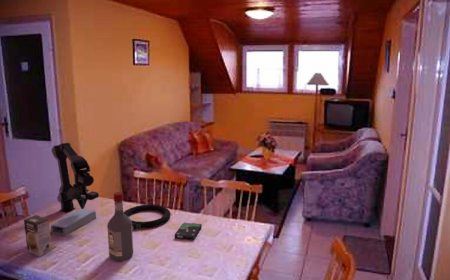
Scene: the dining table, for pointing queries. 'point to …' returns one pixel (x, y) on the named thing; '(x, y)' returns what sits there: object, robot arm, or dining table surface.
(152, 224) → the cable lock
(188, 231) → the disk drive
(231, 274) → the dining table surface
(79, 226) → the grey tray with bar
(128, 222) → the liquor
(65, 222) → the cover
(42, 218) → the coffee box
